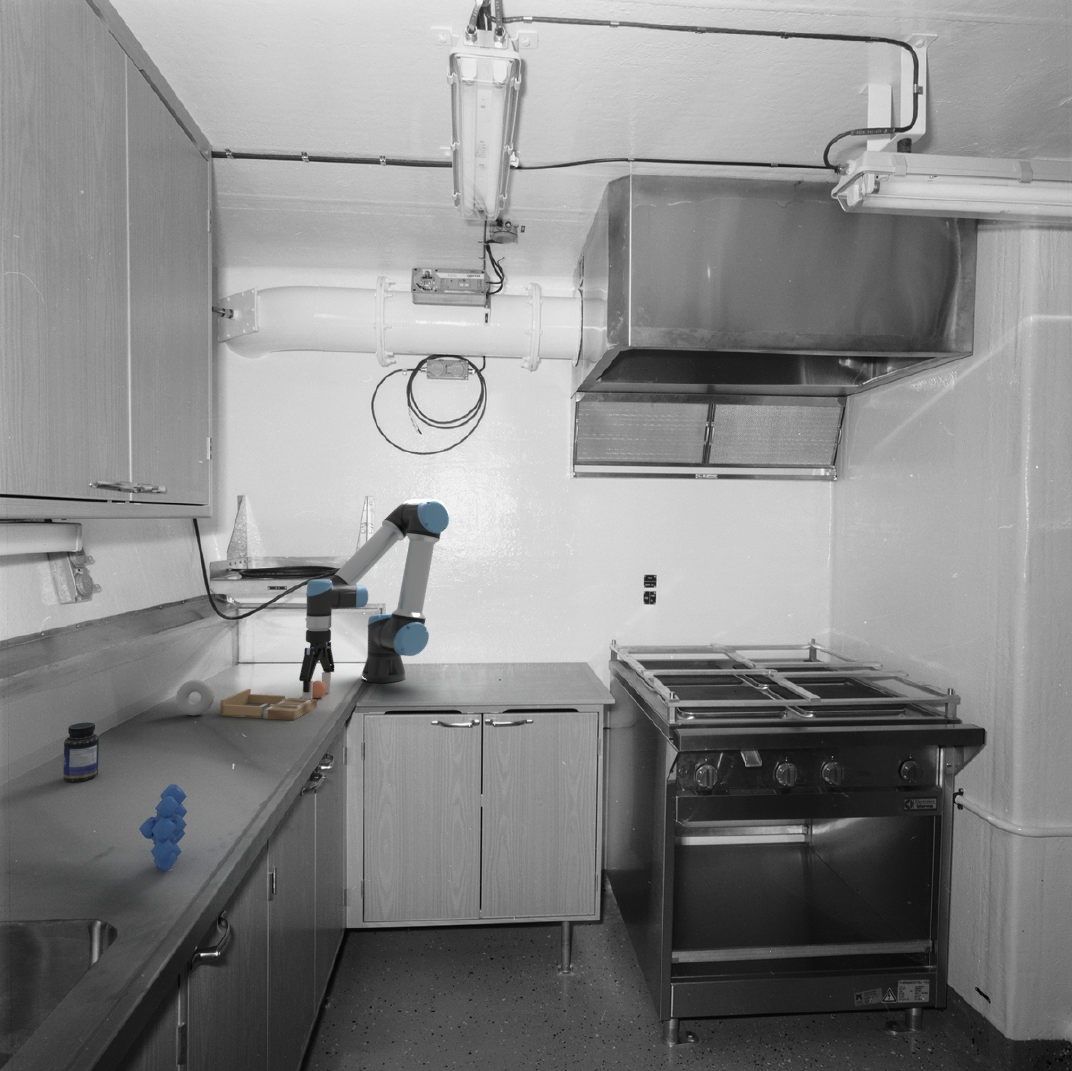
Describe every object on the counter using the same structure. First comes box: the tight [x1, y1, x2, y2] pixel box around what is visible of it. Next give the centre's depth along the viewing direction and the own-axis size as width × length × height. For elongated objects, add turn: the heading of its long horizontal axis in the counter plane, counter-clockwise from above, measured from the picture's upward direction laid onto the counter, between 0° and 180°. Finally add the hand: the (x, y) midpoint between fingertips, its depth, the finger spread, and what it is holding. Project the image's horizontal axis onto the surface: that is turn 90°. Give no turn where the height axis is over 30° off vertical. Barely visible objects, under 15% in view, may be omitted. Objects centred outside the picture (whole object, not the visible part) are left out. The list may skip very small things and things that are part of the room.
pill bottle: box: [63, 721, 100, 783], centre depth 146 cm, size 6×6×11 cm
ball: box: [312, 680, 327, 699], centre depth 218 cm, size 5×5×5 cm
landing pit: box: [219, 688, 286, 719], centre depth 201 cm, size 14×13×4 cm
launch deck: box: [263, 697, 318, 721], centre depth 200 cm, size 14×9×3 cm, turn 172°
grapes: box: [139, 783, 188, 872], centre depth 110 cm, size 12×7×12 cm, turn 16°
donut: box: [175, 679, 215, 716], centre depth 195 cm, size 10×4×10 cm, turn 98°
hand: (317, 697), depth 218 cm, fingers open, 12 cm apart
